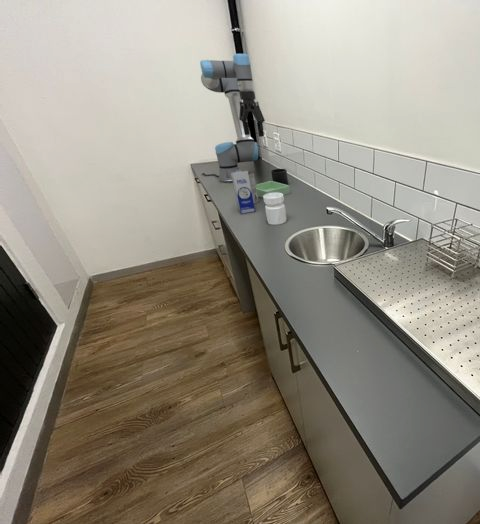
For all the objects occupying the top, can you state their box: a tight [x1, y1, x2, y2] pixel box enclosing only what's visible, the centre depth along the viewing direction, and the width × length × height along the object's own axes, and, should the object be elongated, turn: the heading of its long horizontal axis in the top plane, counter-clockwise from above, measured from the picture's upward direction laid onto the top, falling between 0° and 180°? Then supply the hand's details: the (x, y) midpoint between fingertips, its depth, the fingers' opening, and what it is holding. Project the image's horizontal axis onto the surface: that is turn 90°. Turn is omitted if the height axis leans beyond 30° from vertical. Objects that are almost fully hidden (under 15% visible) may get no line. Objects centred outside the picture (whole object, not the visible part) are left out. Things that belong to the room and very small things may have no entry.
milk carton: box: [231, 169, 256, 215], centre depth 141 cm, size 7×7×20 cm
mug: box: [270, 168, 289, 185], centre depth 186 cm, size 9×12×9 cm
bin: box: [256, 180, 291, 199], centre depth 170 cm, size 18×16×4 cm
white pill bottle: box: [262, 193, 287, 226], centre depth 131 cm, size 9×9×12 cm
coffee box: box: [234, 170, 259, 205], centre depth 154 cm, size 9×6×16 cm
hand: (254, 135), depth 161 cm, fingers open, 13 cm apart
